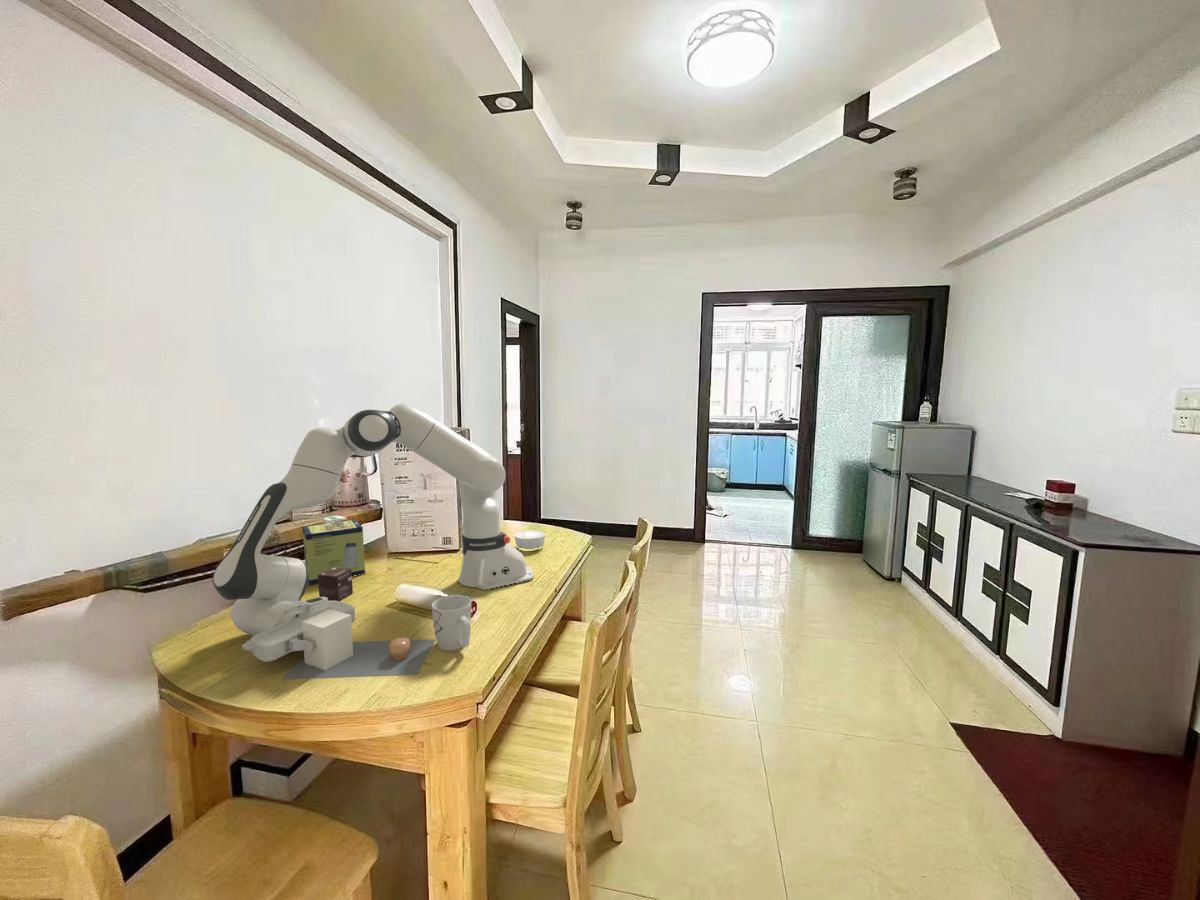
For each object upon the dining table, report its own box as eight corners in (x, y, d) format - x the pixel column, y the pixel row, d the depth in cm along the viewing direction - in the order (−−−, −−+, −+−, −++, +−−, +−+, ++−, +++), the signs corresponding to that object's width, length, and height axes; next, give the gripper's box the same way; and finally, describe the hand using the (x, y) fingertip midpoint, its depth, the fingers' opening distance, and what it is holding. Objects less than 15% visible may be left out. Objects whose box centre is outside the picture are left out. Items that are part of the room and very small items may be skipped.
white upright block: (333, 648, 106) (330, 609, 105) (353, 655, 103) (351, 615, 102) (304, 662, 100) (302, 621, 99) (325, 670, 97) (322, 628, 96)
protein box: (304, 575, 150) (301, 526, 148) (359, 564, 159) (357, 519, 157) (308, 585, 142) (305, 534, 140) (366, 574, 151) (363, 526, 149)
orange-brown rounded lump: (410, 650, 105) (409, 636, 105) (409, 659, 101) (409, 645, 101) (390, 653, 104) (389, 639, 103) (389, 663, 100) (388, 648, 100)
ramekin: (509, 547, 178) (508, 533, 178) (534, 541, 186) (534, 528, 185) (524, 555, 170) (524, 540, 169) (551, 548, 177) (551, 535, 176)
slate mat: (436, 640, 110) (435, 639, 110) (417, 676, 96) (417, 674, 96) (318, 644, 108) (318, 642, 108) (281, 681, 94) (281, 679, 94)
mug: (486, 650, 106) (485, 607, 105) (450, 665, 100) (449, 619, 99) (460, 632, 114) (459, 591, 113) (426, 644, 108) (425, 602, 107)
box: (337, 602, 130) (336, 576, 129) (318, 600, 131) (317, 574, 131) (353, 593, 136) (352, 568, 135) (335, 591, 137) (333, 567, 136)
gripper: (235, 631, 97) (279, 646, 91) (329, 593, 115) (370, 604, 109) (238, 660, 97) (281, 677, 92) (331, 618, 116) (372, 630, 110)
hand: (330, 637), depth 101 cm, fingers closed on white upright block, 6 cm apart
